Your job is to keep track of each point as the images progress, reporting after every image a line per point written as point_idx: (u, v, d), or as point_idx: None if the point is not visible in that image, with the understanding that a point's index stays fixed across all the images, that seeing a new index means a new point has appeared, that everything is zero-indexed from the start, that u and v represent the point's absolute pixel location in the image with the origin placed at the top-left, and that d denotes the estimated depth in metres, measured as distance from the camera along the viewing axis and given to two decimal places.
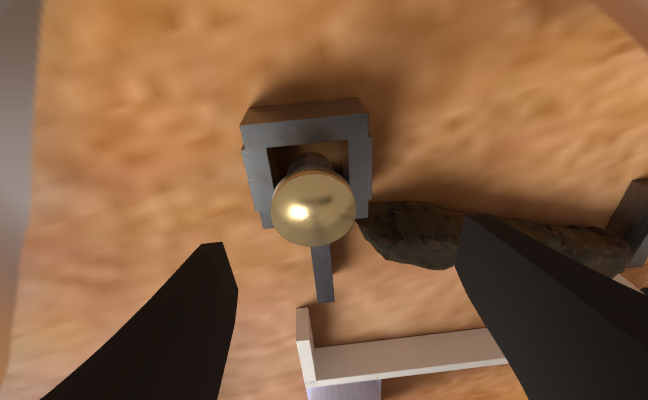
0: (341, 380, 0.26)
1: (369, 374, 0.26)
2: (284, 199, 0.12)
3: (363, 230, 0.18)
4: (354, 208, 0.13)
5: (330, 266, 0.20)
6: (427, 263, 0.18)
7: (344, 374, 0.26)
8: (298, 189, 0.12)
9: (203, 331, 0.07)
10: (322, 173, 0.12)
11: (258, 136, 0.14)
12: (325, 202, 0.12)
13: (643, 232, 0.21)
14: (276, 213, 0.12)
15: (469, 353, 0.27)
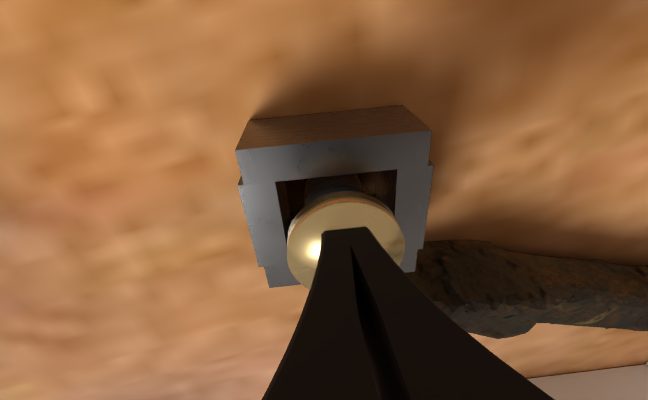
0: None
1: None
2: (306, 236, 0.09)
3: None
4: (402, 248, 0.09)
5: None
6: (492, 331, 0.13)
7: None
8: (327, 224, 0.08)
9: None
10: (360, 201, 0.08)
11: (264, 165, 0.09)
12: None
13: None
14: (295, 256, 0.09)
15: None
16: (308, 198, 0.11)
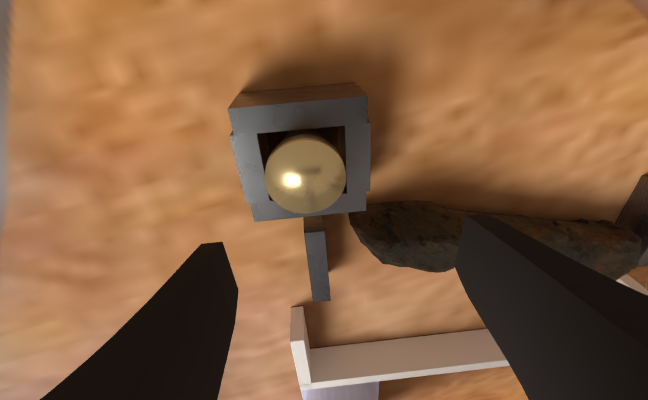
0: (338, 382, 0.25)
1: (366, 376, 0.25)
2: (277, 164, 0.13)
3: (358, 233, 0.17)
4: (344, 175, 0.13)
5: (326, 263, 0.19)
6: (426, 265, 0.17)
7: (340, 376, 0.25)
8: (290, 154, 0.13)
9: (203, 331, 0.07)
10: (313, 139, 0.13)
11: (248, 120, 0.13)
12: (316, 168, 0.13)
13: None
14: (270, 179, 0.13)
15: (470, 355, 0.26)
16: None
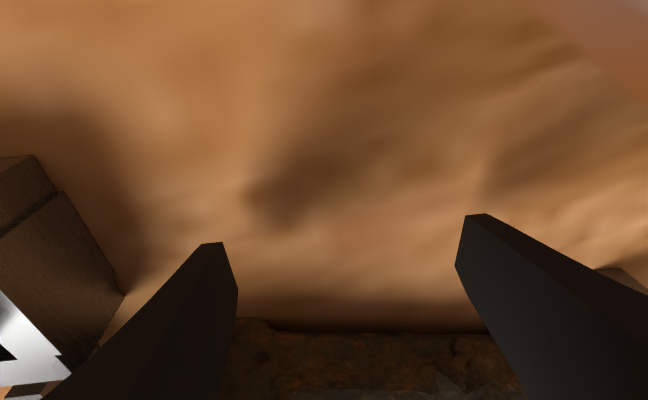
0: None
1: None
2: None
3: None
4: None
5: None
6: None
7: None
8: None
9: (203, 331, 0.07)
10: None
11: None
12: None
13: None
14: None
15: None
16: None
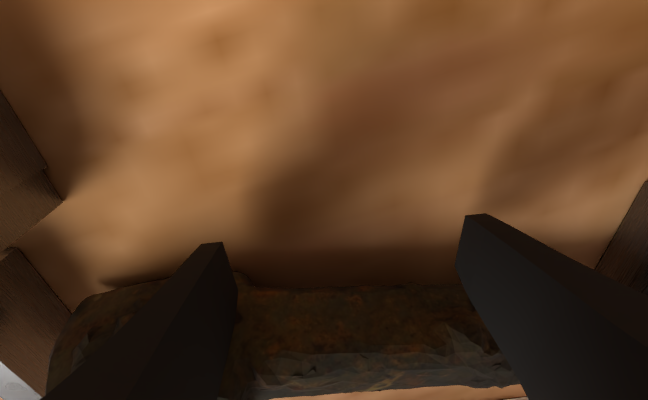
0: None
1: None
2: None
3: None
4: None
5: (0, 363, 0.09)
6: None
7: None
8: None
9: (203, 331, 0.07)
10: None
11: None
12: None
13: None
14: None
15: None
16: None
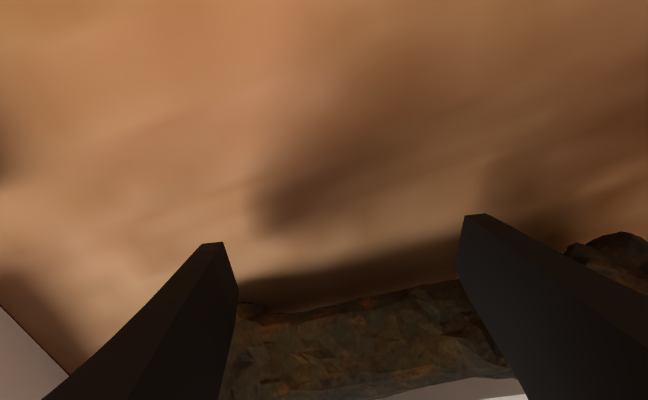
0: None
1: None
2: None
3: None
4: None
5: None
6: None
7: None
8: None
9: (203, 331, 0.07)
10: None
11: None
12: None
13: None
14: None
15: None
16: None
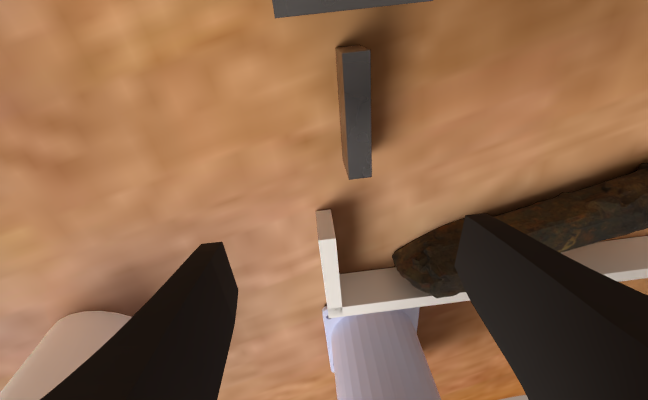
0: (374, 307, 0.20)
1: (410, 299, 0.20)
2: None
3: (405, 278, 0.20)
4: None
5: (369, 110, 0.14)
6: None
7: (377, 299, 0.20)
8: None
9: (203, 331, 0.07)
10: None
11: None
12: None
13: None
14: None
15: None
16: None
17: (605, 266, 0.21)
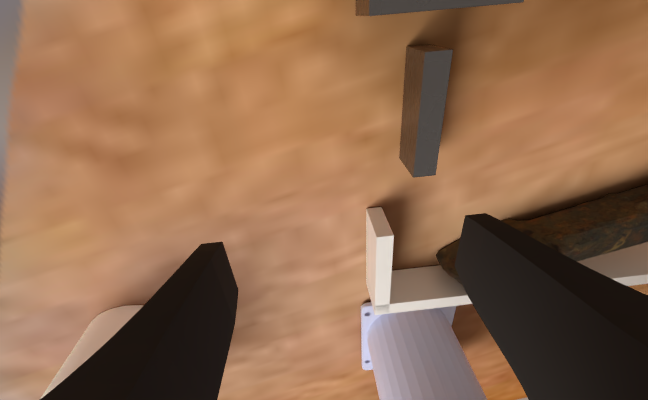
0: (421, 304, 0.21)
1: (456, 296, 0.21)
2: None
3: (453, 277, 0.20)
4: None
5: (443, 108, 0.14)
6: None
7: (424, 296, 0.21)
8: None
9: (203, 331, 0.07)
10: None
11: None
12: None
13: None
14: None
15: None
16: None
17: (646, 267, 0.21)
